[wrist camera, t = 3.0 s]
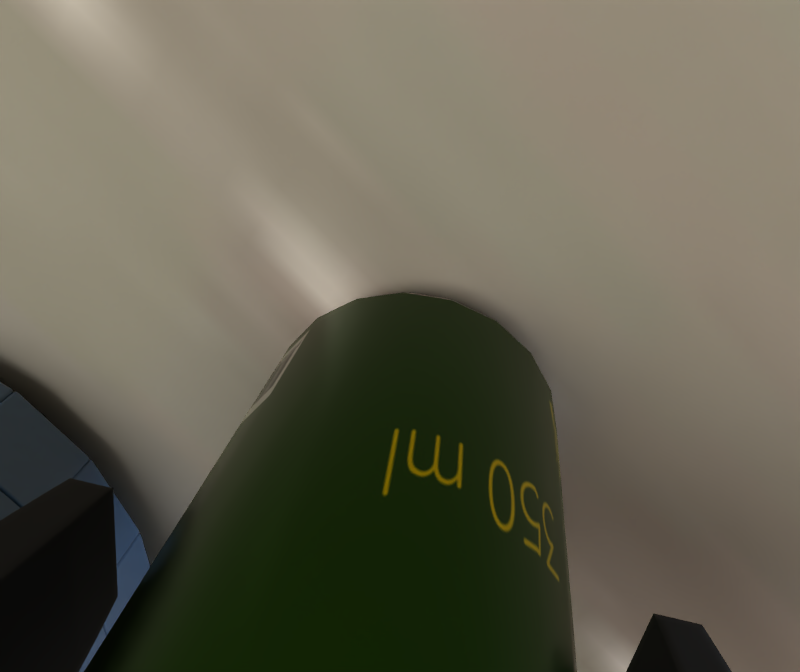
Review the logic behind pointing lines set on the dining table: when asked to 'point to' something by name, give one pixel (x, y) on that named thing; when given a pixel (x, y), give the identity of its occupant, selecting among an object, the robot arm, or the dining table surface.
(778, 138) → the dining table surface
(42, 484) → the bowl
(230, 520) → the beer can
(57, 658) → the robot arm
